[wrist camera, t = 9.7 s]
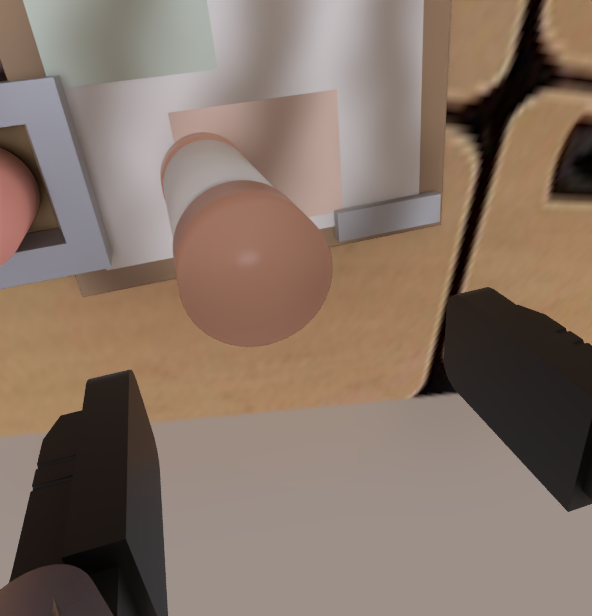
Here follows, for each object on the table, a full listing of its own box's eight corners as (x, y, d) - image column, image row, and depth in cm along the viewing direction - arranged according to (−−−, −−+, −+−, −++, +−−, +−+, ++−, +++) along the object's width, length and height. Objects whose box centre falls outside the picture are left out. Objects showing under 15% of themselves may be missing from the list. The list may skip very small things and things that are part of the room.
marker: (240, 123, 23) (327, 189, 13) (252, 210, 25) (336, 328, 15) (149, 137, 23) (162, 218, 12) (169, 225, 25) (195, 361, 14)
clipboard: (450, -129, 22) (467, -138, 21) (435, 221, 30) (447, 228, 29) (-52, -104, 18) (-64, -113, 17) (83, 292, 26) (81, 303, 25)
